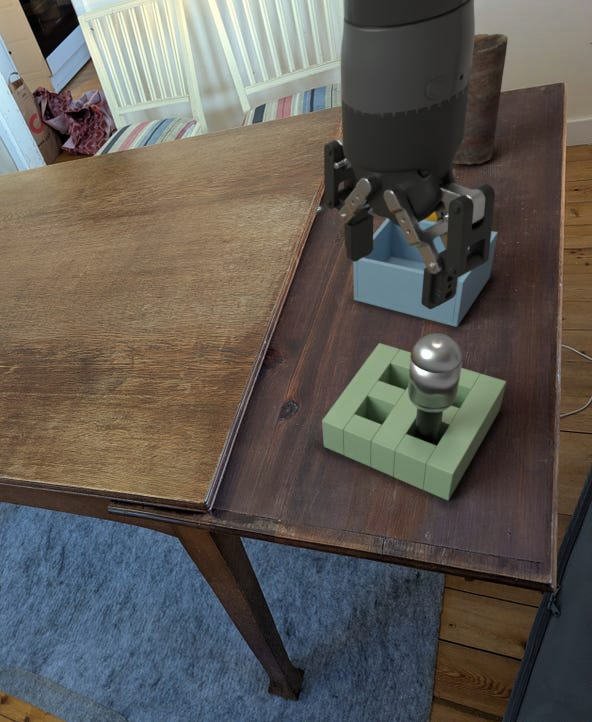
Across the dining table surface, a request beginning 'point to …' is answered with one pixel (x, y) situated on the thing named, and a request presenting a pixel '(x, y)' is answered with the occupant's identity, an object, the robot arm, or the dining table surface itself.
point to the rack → (410, 423)
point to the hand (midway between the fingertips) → (395, 277)
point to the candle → (483, 99)
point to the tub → (412, 277)
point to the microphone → (433, 382)
